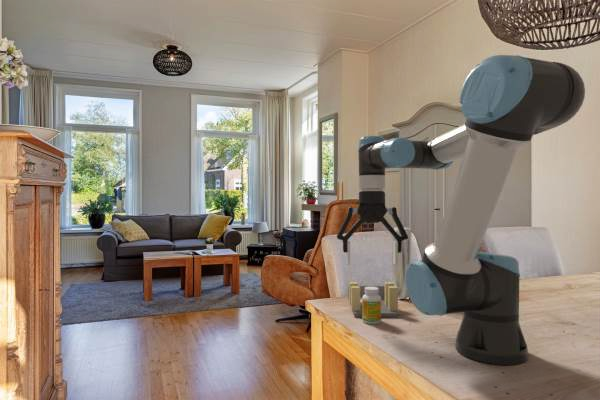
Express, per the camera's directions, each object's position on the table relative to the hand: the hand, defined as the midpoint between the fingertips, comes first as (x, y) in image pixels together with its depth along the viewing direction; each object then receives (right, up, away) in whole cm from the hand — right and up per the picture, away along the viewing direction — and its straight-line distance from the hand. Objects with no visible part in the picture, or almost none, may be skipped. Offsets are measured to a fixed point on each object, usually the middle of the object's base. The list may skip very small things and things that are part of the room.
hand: (372, 263), depth 119 cm
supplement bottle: (0, -17, 0) cm, 17 cm away
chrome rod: (+15, -17, +28) cm, 36 cm away
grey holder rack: (+2, -17, +14) cm, 22 cm away
